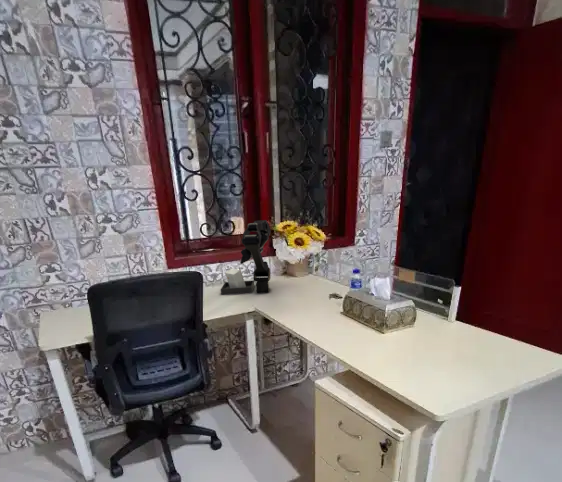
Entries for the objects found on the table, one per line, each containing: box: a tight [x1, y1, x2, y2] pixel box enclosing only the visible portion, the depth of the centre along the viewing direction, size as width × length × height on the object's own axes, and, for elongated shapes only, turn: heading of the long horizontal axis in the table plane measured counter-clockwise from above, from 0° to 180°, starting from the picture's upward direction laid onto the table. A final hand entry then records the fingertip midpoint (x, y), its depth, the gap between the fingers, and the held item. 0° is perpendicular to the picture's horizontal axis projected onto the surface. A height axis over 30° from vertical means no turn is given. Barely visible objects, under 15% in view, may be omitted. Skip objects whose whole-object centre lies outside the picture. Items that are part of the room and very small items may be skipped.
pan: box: [220, 279, 256, 295], centre depth 236 cm, size 17×13×3 cm
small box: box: [224, 268, 246, 288], centre depth 233 cm, size 8×6×10 cm
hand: (244, 261), depth 239 cm, fingers open, 9 cm apart
